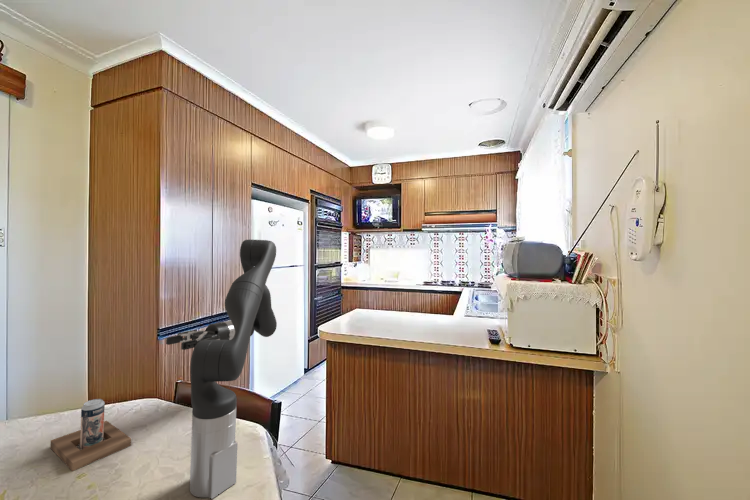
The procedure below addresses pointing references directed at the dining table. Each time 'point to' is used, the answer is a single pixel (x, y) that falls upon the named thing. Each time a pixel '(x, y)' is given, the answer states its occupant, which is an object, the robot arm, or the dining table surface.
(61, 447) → the frame
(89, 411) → the beer can
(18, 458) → the dining table surface
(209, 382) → the robot arm
